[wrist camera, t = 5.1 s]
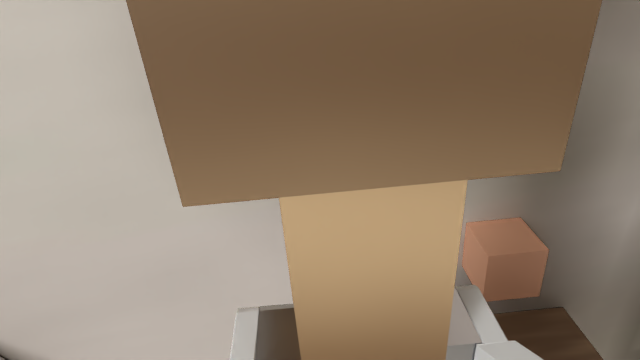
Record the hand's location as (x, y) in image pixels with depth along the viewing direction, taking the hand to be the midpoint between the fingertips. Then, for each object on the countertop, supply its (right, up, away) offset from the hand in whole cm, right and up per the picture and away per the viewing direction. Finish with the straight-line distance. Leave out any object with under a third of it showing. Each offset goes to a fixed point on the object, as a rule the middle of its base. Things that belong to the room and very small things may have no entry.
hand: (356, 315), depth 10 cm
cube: (+12, -1, +22) cm, 25 cm away
